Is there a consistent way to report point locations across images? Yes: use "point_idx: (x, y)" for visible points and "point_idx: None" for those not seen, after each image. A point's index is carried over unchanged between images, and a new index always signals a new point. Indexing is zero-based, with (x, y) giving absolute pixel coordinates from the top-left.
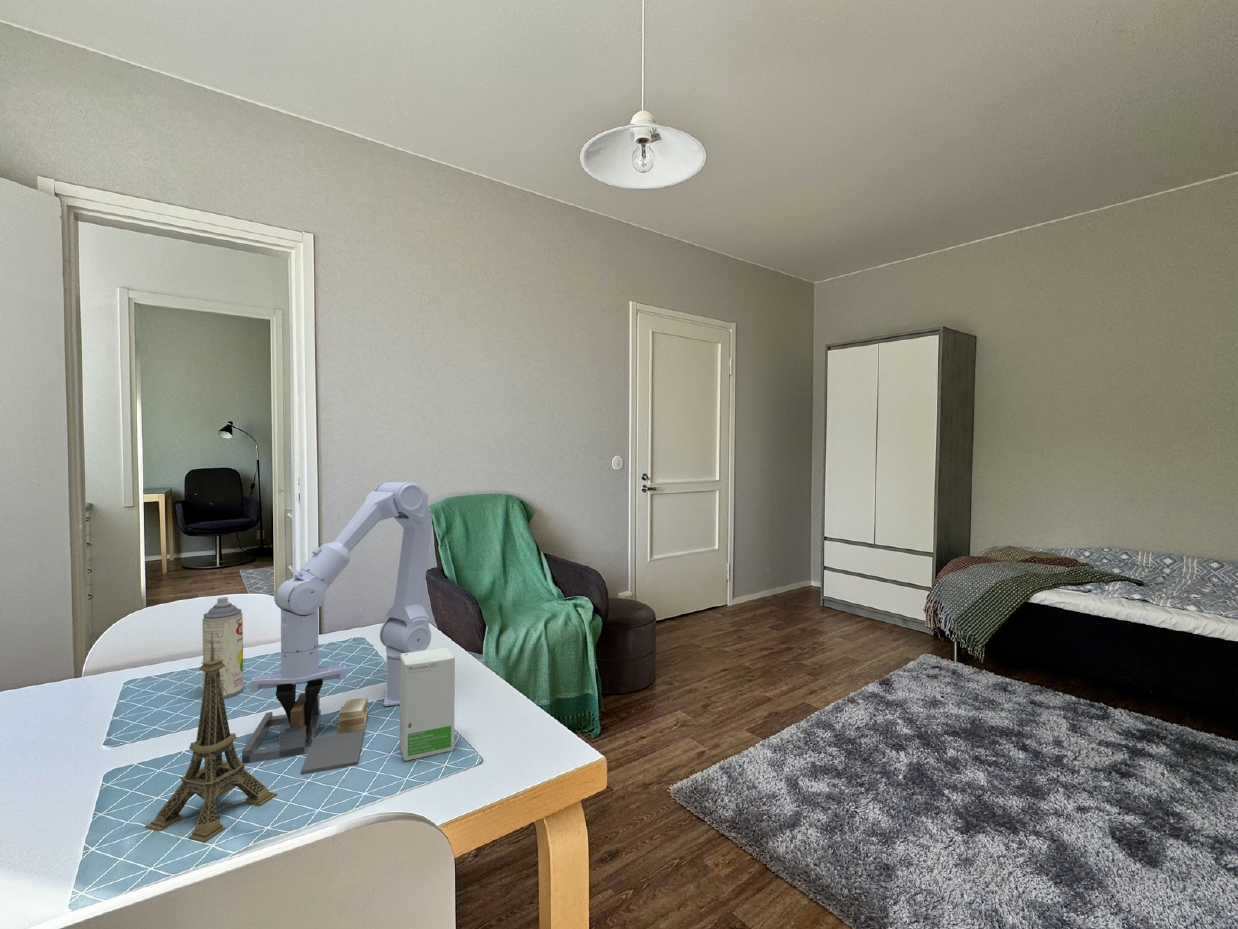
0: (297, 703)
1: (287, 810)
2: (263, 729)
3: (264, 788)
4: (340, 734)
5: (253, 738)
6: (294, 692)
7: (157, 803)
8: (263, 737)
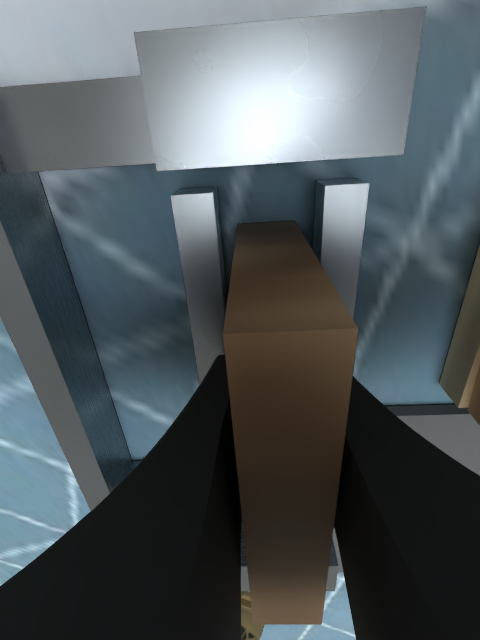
0: (268, 549)
1: (314, 634)
2: (63, 348)
3: (257, 637)
4: (458, 419)
5: (82, 459)
6: (216, 616)
7: (12, 573)
8: (84, 324)
